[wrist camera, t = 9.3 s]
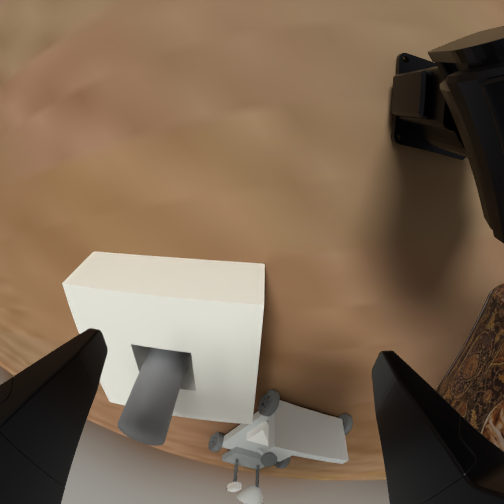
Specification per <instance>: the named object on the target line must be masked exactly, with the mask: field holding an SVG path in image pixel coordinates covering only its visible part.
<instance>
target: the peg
mask: <svg viewBox="0 0 504 504" xmlns="http://www.w3.org/2000/svg"><path fill="white" fill-rule="evenodd" d="M190 354H191V353H188V352H180V351H172V350H165V349H158V348H151V347H150V349H149V352H148V354H147V356H146V358H145V361H144V363H143V365H142V367H141V370H140V372H139V374H138V377H137V379H136V381H135V383H134V386H133V388H132V390H131V393H130V395H129V398H128V400H127V402H126V405H125V407H124V410H123V412H122V415H121V417H120V419H119V422H118V428H119V429H120V430H121V431H122V432H123V433H124V434H125V435H127V436H128V437H130V438H132V439H134V440H136V441H138V442H141V443H144V444H148V445H162V444H164V442H165V438H166V435H167V431H168V428H169V424H170V421H171V417H172V414H173V410H174V407H175V404H176V400H177V397H178V393H179V390H180V387H181V383H182V380H183V377H184V373H185V370H186V367H187V363H188V360H189V357H190Z"/></svg>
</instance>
